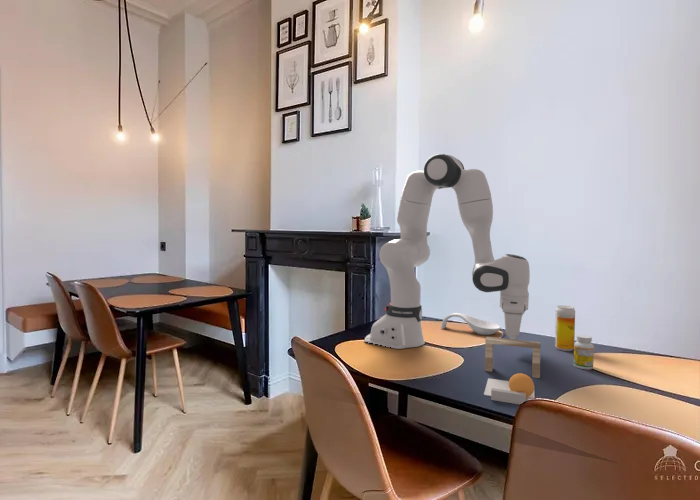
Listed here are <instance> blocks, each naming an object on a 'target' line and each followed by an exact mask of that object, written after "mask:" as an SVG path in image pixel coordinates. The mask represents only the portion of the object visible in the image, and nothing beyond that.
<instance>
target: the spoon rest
mask: <svg viewBox="0 0 700 500" xmlns="http://www.w3.org/2000/svg"><path fill="white" fill-rule="evenodd" d="M454 317H457V318H460V319H462V320H463V321H464V322H465V324H467V325H468V326H469V328H471V330H472V331H473V332H475V333H476V334H477V335H480V336H490V335H493V334H496V333H498V332H499V331H500V330H501V326H500V325H499V324H497V323H495V322H490V321H487V320H483V319H480V318H477V317H474V316H470V315H468V314H466V313H462V312H461V313H460V312H453V313H451V314H449V315H447V316H445V317H444V318H443V320H442V321H441V325H440V329H441V330H443V329H445V328H447V323H448V321H449V319H451V318H454Z"/></svg>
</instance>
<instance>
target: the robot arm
mask: <svg viewBox="0 0 700 500" xmlns="http://www.w3.org/2000/svg"><path fill="white" fill-rule="evenodd" d="M447 188H451V189H453V191H454V192H455V195H456V199H457V206H458V211H459V215H460V218H461V221H462V223H463V225H464V227H465V228H466V230H467V231H468V233H469V236H470V239H471V243H472V248H473V254H474V265H473V268H472V269H473V270H472V271H471V275H472V283H473V285H474V287H475V288H476V289H477V290H478V291H480V292H482V293H494V292H500V293H499V295H500V298H499V307H500V308H501V310H502V312H503V315H504V329H505V335H506V337H509V338H508V339H514V340H517V339H516V338H519V335H520V331H521V324H522V318H523V315H524V314H525V312H526V311H527V310H529V300H530V299H529V298H530V297H529V296H530V295H529V290H528V289H529V285H530V273H531V272H530V264H529V261H528V260H527V258H525V257H524V256H520V255H515V254H509V253H506V254H504V255H503V256H501V257H499V258H498V259H495V258H494V254H493V249H492V243H491V229H492V228H491V227H492V223H493V218H494V217H493V215H494V209H493V204H494V203H493V198H492V193H491V190H490V189H491V188H490V185H489V182H488V178H487V177H486V174H485V173H484V171H482V170H480V169H478V168H472V169H471V168H470V169H465V167H464V164H463V162H462V161H461V160H459V159H458V158H456V157H455V156H453V155H450V154H445V153H437V154H434V155H432V156H430V157H429V158H428V159H427V160H426V162H425V163H424V167H423V170H416V171H413V172H411V173H409V174H408V175H407V177H406V180H405V183H404V186H403V188H402V193H401V197H400V201H399V202H400V203H399V207H398V212H397V217H396V221H397V224H398V225H399V231H400V238H398V239H392V240H390V241H388V242H386V243H384V244H383V245H382V246H381V247H380V250H379V255H378V257H379V260H380V263H381V264H382V265H383V267H384V268H385V269H386V272H387V273H386V274H387V276H388V279H389V284H390V285H389V286H390V302H389V303H388V304H387V305H386V306H385V307H384V312H385V314H384V315H383V316H381V317H380V318H379V319H377V320H376V321H375V322H374V323H372V326H371V328H370V329H371V330H370V333H369V334H367V335H366V336H365V337H364V342H368V343H367V344H369V343H373V344H372V345H375V344H378V345H377V346H380V345H382V346H381V347H385V346H386V347H385V348H390V347H391V348H392V349H395V350H396V349H397V350H401V349H408V348H417V347H421V346H423V345H425V343H426V342H425V339H424V338H425V337H424V333H423V327H422V319H423V309H422V305H421V292H422V291H421V283H420V282H419V281H418V278H417V276H416V272H415V268H417V267H419V266H422V265H423V264H424V263H425V262H428V259H429V258H430V255H431V249H430V246H429V244H428V222H429V215H430V211H431V207H432V200H433V196H434V193H436V192H435V191H436V190H440V189H447ZM391 348H390V349H391Z"/></svg>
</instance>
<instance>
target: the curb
mask: <svg viewBox="0 0 700 500" xmlns="http://www.w3.org/2000/svg"><path fill="white" fill-rule="evenodd" d="M490 400H491V401H496V402H502V403H508V404H509V403H510V404H513V405H514V404H515V405H520V404H521V403H523V402H524V401H526V393H522V392H515V391H509V390H502V389H495V388H492V390H491V396H490Z"/></svg>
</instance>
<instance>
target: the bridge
mask: <svg viewBox="0 0 700 500" xmlns="http://www.w3.org/2000/svg"><path fill="white" fill-rule="evenodd" d="M484 344H485V346H484V349H485V353H484V354H485V355H484V357H485V358H484V371H485V372H491V373H492V372H493V369H494V345H500V346H509V347H517V348H518V347H519V348H525V349H526V348H527V349H528V348H529V349H532V362H531V363H532V364H531V366H532V367H531V368H532V369H531V370H532V371H531V376H532V378H536V379H540V378H541V349H542V348H541V346H542V345H541V341H535V340H534V341H533V340H523V339H515V340H514V339H509V338H504V337H502V338H501V337H493V336H486V337H485V343H484Z"/></svg>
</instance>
